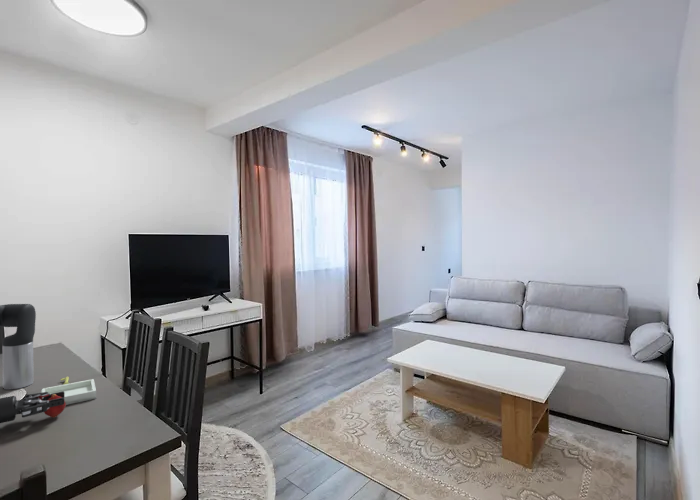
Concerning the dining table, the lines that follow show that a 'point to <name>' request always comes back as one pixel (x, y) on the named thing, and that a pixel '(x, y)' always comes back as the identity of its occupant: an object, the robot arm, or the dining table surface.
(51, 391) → the tray
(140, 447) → the dining table surface
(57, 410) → the onion
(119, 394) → the dining table surface
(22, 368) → the robot arm
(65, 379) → the key
